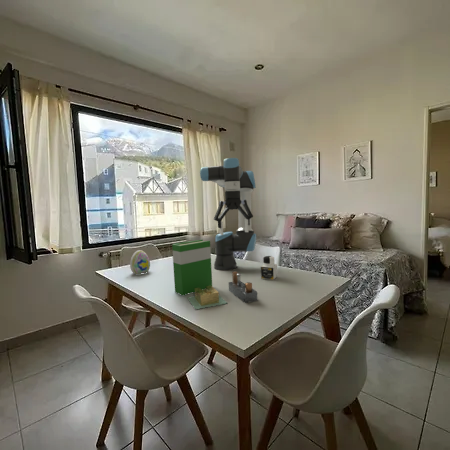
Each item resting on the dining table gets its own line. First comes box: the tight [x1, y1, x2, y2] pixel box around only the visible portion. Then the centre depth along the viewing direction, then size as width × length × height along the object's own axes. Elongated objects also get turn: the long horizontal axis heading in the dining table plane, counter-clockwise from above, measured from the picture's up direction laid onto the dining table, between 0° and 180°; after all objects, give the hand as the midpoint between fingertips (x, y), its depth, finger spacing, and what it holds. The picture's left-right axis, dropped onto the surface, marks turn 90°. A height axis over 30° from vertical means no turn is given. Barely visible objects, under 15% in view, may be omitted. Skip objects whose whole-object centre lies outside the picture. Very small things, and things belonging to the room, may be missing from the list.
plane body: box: [228, 271, 258, 304], centre depth 117 cm, size 18×6×9 cm, turn 22°
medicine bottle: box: [260, 255, 278, 281], centre depth 142 cm, size 7×7×12 cm
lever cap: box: [194, 285, 220, 306], centre depth 112 cm, size 10×8×5 cm
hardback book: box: [171, 239, 213, 296], centre depth 128 cm, size 18×7×24 cm, turn 130°
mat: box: [187, 295, 228, 310], centre depth 113 cm, size 14×14×1 cm
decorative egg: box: [129, 249, 151, 275], centre depth 163 cm, size 12×12×15 cm
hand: (234, 233), depth 127 cm, fingers open, 13 cm apart
